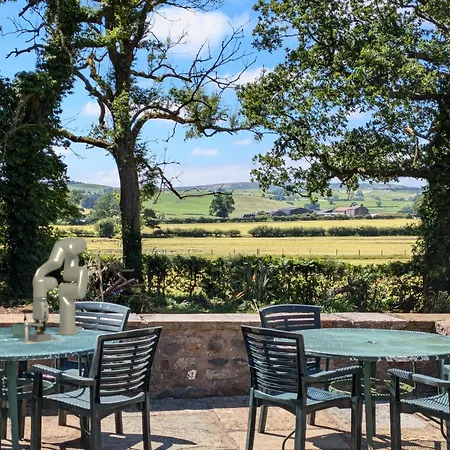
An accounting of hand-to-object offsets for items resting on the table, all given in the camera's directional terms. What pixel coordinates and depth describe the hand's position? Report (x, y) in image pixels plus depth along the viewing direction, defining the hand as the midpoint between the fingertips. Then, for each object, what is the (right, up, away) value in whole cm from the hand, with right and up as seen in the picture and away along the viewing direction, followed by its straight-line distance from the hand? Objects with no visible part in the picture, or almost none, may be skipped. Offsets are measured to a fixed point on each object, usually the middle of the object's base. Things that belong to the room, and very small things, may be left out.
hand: (40, 330), depth 406 cm
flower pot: (-15, -7, +12) cm, 20 cm away
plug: (0, -4, 0) cm, 4 cm away
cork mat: (+7, -6, +6) cm, 11 cm away
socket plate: (-2, -6, -2) cm, 7 cm away
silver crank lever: (-2, +4, -9) cm, 10 cm away
